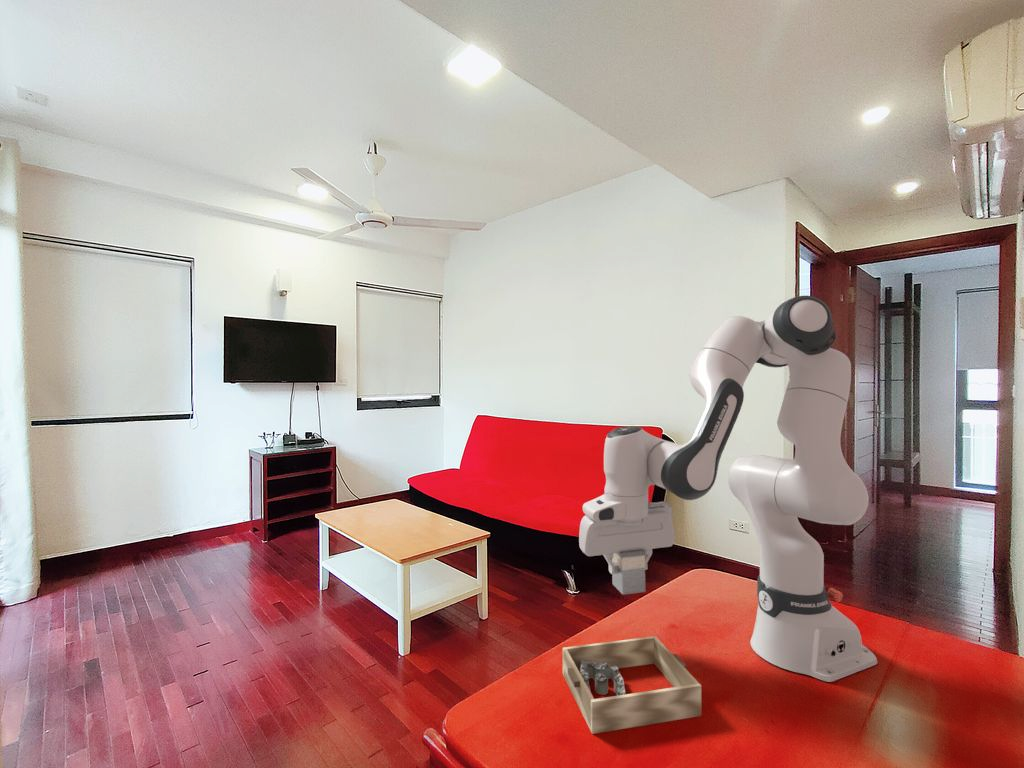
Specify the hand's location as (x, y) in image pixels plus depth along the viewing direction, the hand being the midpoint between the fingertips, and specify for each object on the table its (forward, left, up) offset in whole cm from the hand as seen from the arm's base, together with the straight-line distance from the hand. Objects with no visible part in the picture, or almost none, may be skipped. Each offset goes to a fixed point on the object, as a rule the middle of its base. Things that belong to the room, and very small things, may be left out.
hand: (628, 570), depth 97 cm
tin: (0, 0, -4) cm, 4 cm away
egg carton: (+12, +14, -16) cm, 24 cm away
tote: (+7, +14, -15) cm, 22 cm away
